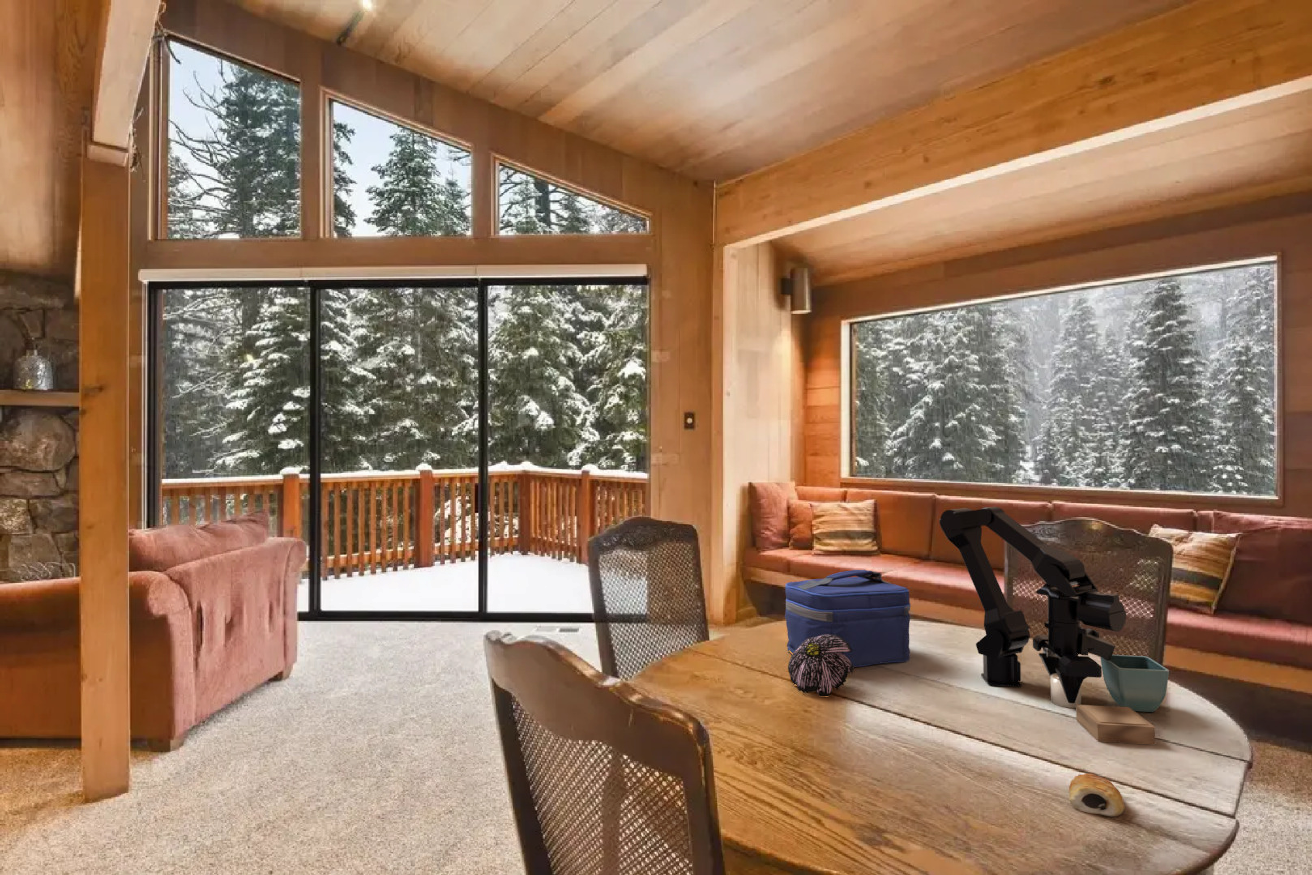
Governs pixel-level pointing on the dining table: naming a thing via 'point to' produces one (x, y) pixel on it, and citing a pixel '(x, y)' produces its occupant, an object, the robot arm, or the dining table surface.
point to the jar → (1061, 694)
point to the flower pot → (1135, 681)
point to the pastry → (1095, 795)
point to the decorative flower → (820, 664)
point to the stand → (1115, 724)
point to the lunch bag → (851, 615)
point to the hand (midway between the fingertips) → (1065, 697)
